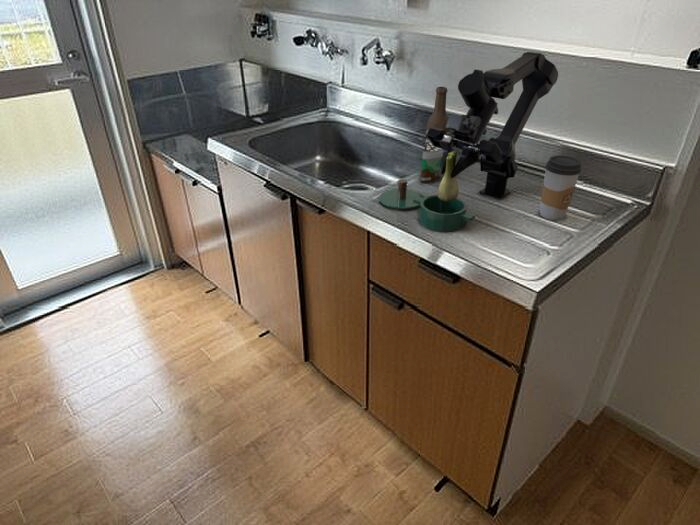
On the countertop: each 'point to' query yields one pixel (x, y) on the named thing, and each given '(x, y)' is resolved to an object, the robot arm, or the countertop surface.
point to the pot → (442, 213)
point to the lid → (400, 197)
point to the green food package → (431, 163)
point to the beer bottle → (439, 112)
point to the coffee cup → (559, 186)
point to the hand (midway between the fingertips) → (446, 175)
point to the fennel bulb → (449, 180)
